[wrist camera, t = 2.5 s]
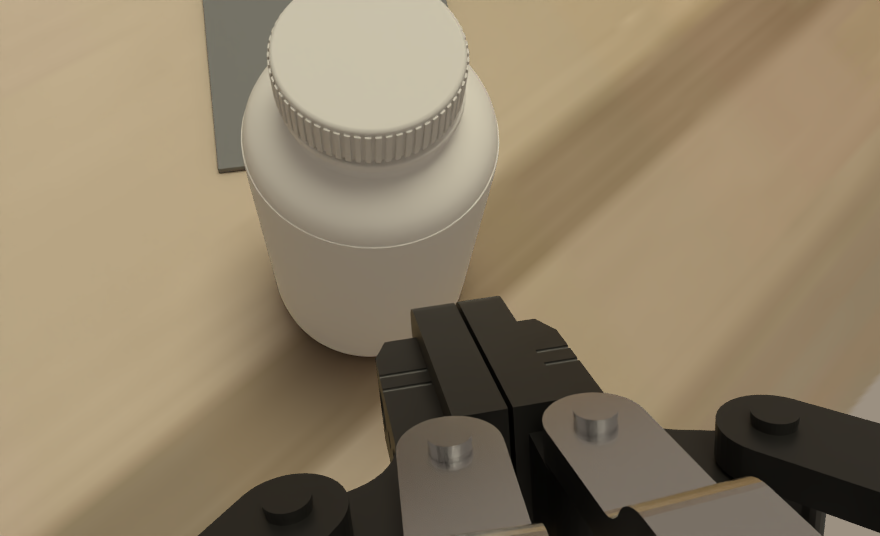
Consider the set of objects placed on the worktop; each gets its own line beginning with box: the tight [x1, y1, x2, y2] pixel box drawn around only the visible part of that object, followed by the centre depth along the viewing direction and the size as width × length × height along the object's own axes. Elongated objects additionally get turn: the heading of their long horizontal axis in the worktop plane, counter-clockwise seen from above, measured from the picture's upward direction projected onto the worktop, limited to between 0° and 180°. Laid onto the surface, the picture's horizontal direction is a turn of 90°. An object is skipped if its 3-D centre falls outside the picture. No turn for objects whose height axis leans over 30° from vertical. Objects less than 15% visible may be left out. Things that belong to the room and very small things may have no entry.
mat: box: [203, 0, 448, 173], centre depth 40 cm, size 18×12×1 cm, turn 11°
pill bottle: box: [241, 0, 499, 357], centre depth 28 cm, size 8×8×15 cm
